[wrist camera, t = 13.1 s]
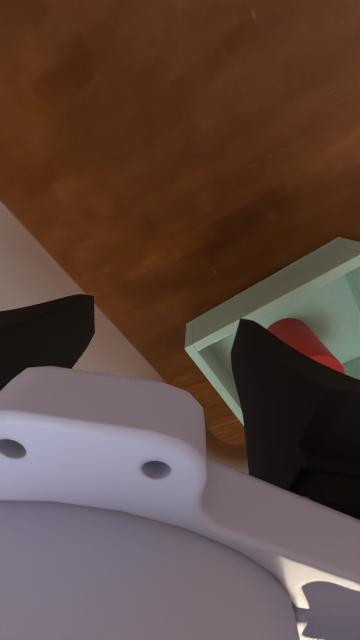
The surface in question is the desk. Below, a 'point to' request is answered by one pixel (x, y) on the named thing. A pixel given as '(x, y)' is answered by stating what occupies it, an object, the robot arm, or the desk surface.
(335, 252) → the tray
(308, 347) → the bottle
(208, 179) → the desk surface
